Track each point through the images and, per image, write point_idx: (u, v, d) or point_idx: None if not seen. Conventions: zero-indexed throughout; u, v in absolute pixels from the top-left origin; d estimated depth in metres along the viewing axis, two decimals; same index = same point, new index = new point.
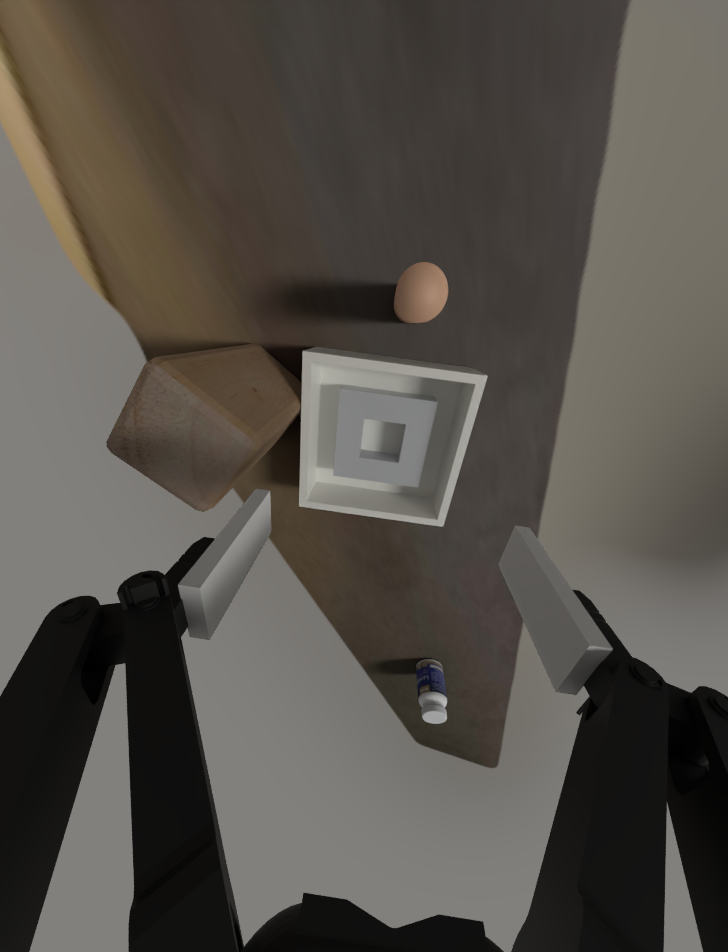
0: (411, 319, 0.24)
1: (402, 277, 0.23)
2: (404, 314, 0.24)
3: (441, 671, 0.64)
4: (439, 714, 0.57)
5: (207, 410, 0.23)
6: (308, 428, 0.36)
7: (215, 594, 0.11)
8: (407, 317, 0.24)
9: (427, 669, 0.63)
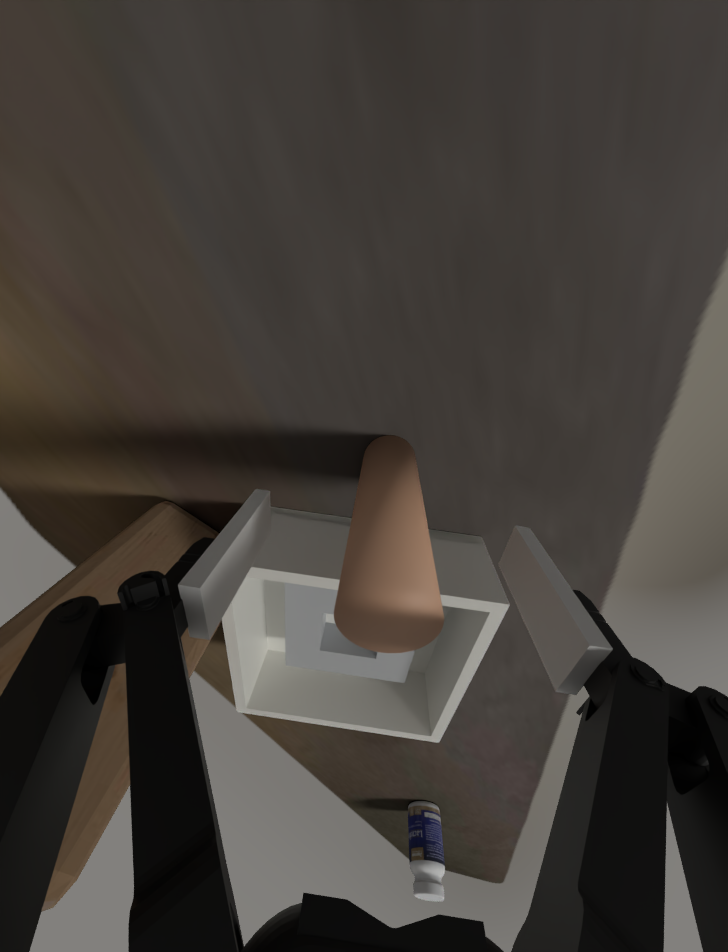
0: (369, 648, 0.12)
1: (345, 596, 0.11)
2: (355, 641, 0.12)
3: (438, 820, 0.52)
4: (435, 896, 0.46)
5: None
6: (236, 641, 0.24)
7: (215, 594, 0.11)
8: (362, 645, 0.12)
9: (421, 819, 0.52)
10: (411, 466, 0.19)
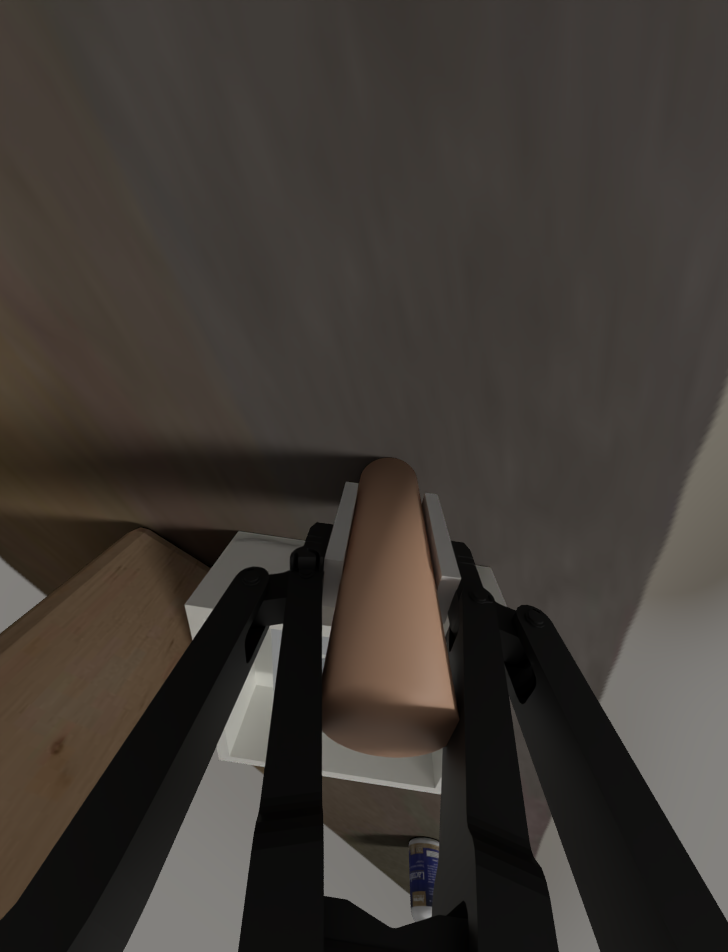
0: (362, 751, 0.09)
1: (329, 697, 0.08)
2: (343, 743, 0.09)
3: None
4: None
5: None
6: None
7: None
8: (353, 748, 0.09)
9: (423, 859, 0.48)
10: (413, 497, 0.16)
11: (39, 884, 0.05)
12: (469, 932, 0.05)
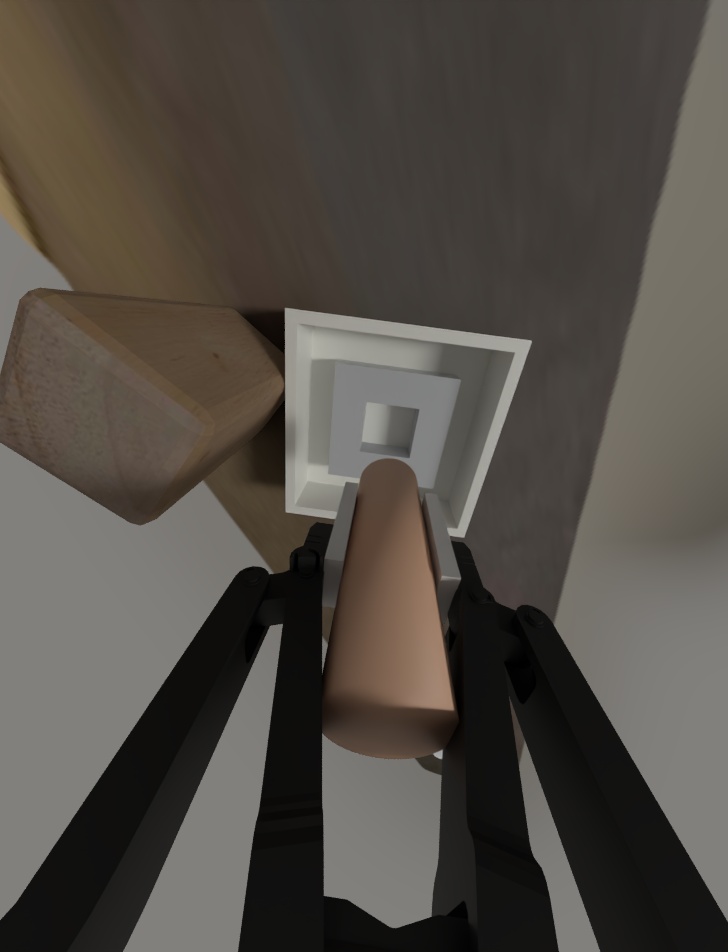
0: (362, 752, 0.09)
1: (329, 699, 0.08)
2: (343, 745, 0.09)
3: None
4: None
5: (127, 374, 0.15)
6: (295, 413, 0.28)
7: None
8: (353, 749, 0.09)
9: None
10: (413, 497, 0.16)
11: (39, 884, 0.05)
12: (469, 932, 0.05)
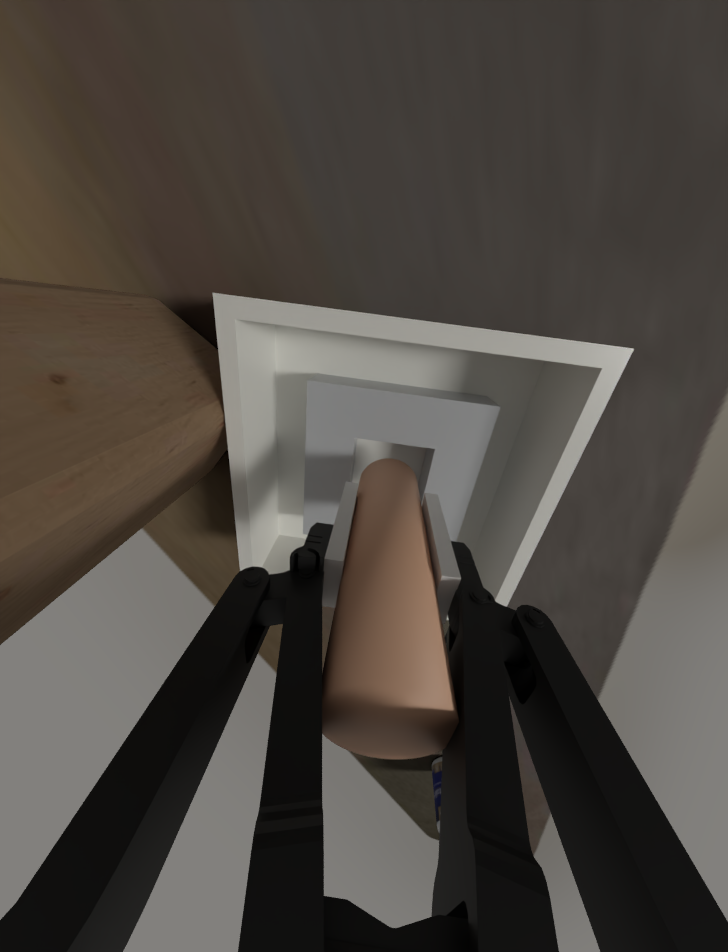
0: (362, 753, 0.09)
1: (329, 699, 0.08)
2: (343, 745, 0.09)
3: None
4: None
5: None
6: (244, 459, 0.18)
7: None
8: (352, 749, 0.09)
9: None
10: (413, 498, 0.16)
11: (39, 884, 0.05)
12: (469, 932, 0.05)
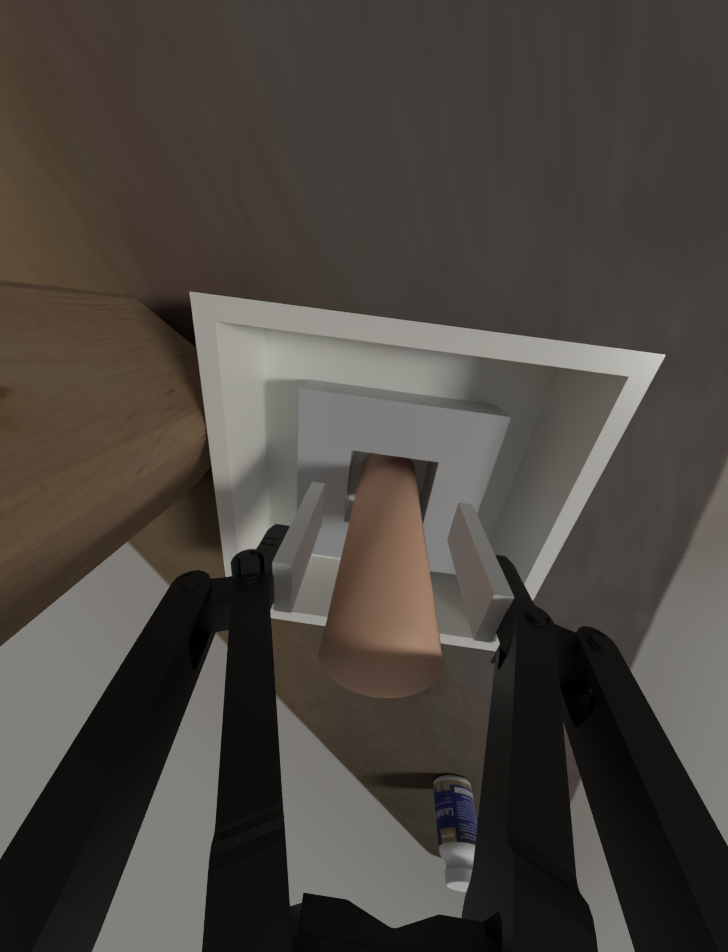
0: (360, 692, 0.11)
1: (332, 637, 0.09)
2: (343, 684, 0.10)
3: (470, 797, 0.44)
4: None
5: None
6: (229, 474, 0.17)
7: (297, 572, 0.12)
8: (352, 688, 0.11)
9: (450, 795, 0.43)
10: (410, 483, 0.18)
11: None
12: (503, 942, 0.05)
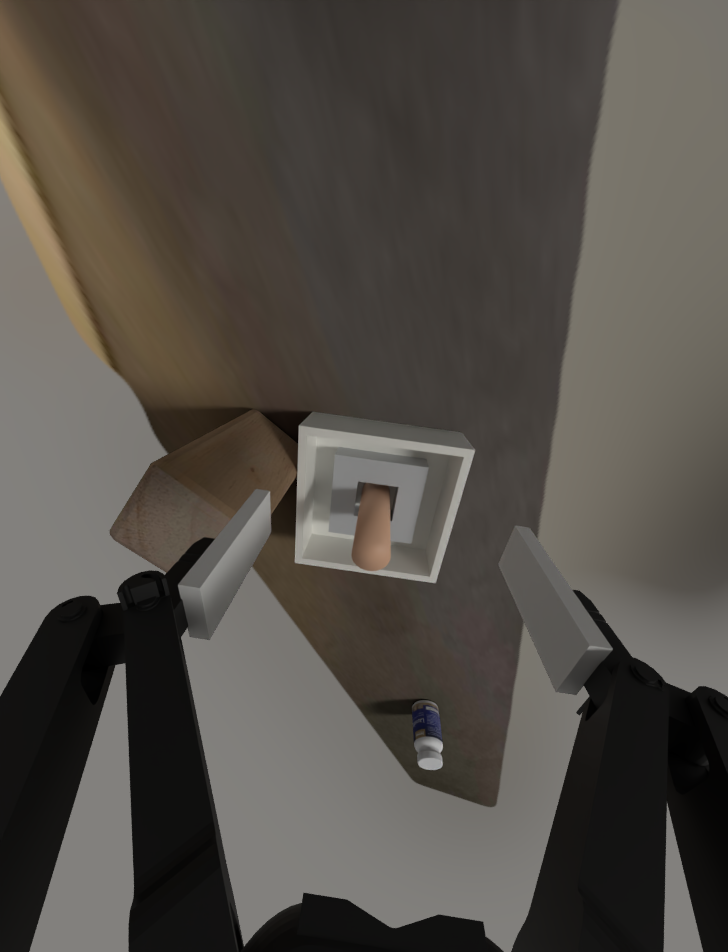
0: (364, 569, 0.31)
1: (355, 546, 0.30)
2: (359, 566, 0.31)
3: (437, 713, 0.63)
4: (435, 761, 0.57)
5: (207, 507, 0.24)
6: (304, 493, 0.38)
7: (215, 594, 0.11)
8: (361, 567, 0.31)
9: (423, 711, 0.63)
10: (385, 496, 0.39)
11: None
12: None
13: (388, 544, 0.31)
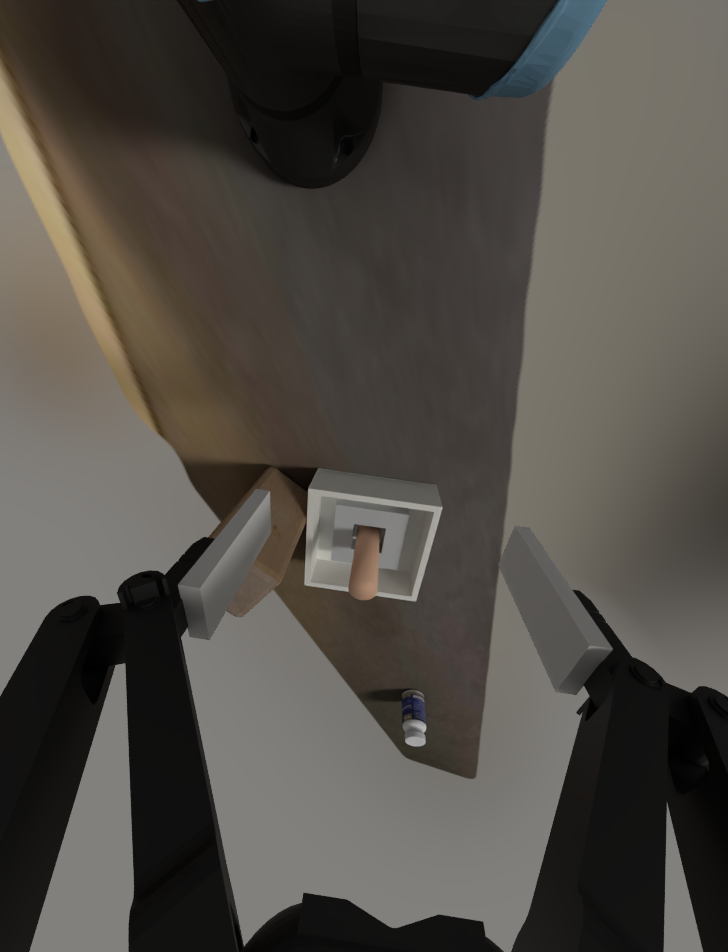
0: (358, 598, 0.42)
1: (351, 583, 0.41)
2: (353, 596, 0.42)
3: (422, 700, 0.76)
4: (419, 739, 0.69)
5: None
6: (312, 535, 0.48)
7: (215, 594, 0.11)
8: (356, 597, 0.42)
9: (410, 699, 0.75)
10: (375, 536, 0.49)
11: None
12: None
13: (375, 581, 0.42)
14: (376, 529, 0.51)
